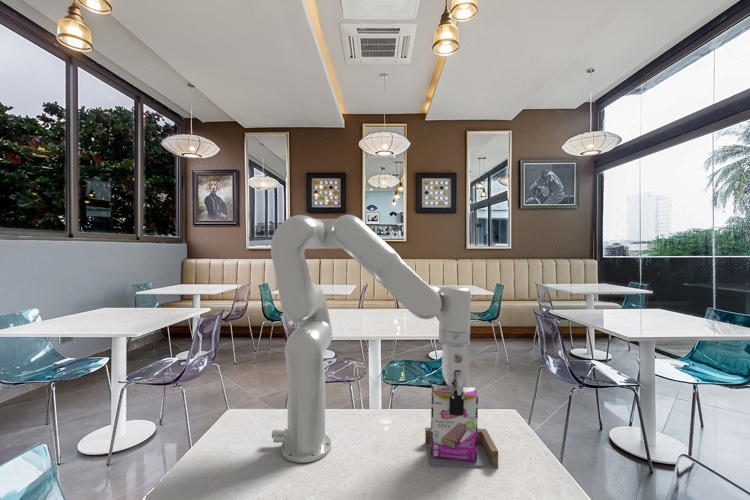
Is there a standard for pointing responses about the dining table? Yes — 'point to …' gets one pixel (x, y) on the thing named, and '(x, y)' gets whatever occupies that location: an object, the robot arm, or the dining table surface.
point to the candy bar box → (454, 425)
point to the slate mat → (481, 460)
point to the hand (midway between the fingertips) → (452, 405)
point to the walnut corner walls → (482, 439)
